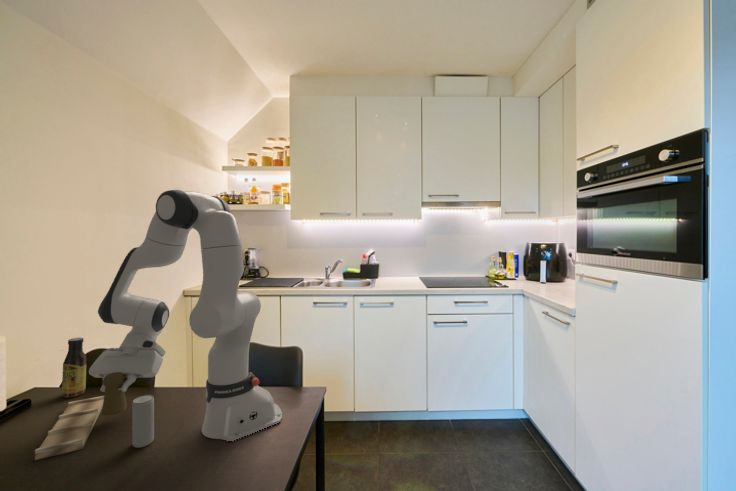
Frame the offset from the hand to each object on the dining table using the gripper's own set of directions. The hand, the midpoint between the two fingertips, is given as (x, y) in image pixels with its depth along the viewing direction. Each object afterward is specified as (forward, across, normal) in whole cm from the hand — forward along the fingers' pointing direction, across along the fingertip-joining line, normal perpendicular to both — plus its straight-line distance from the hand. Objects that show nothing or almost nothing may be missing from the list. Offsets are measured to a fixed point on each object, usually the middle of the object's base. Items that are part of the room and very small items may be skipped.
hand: (112, 391), depth 96 cm
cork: (+4, 0, +5) cm, 6 cm away
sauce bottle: (-6, -29, +18) cm, 35 cm away
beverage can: (+14, +16, +1) cm, 21 cm away
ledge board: (+8, -9, +5) cm, 14 cm away
